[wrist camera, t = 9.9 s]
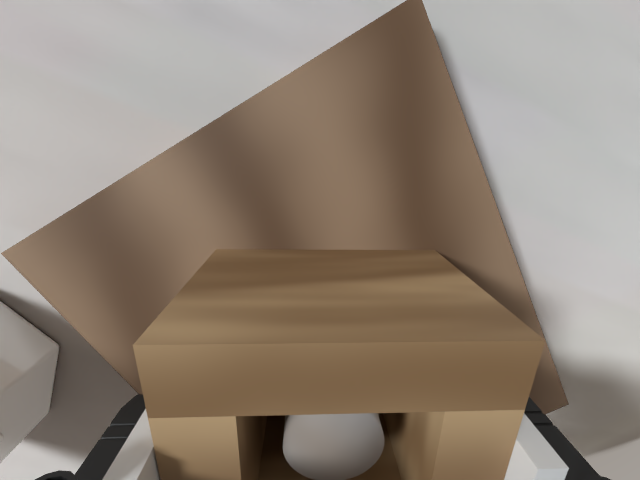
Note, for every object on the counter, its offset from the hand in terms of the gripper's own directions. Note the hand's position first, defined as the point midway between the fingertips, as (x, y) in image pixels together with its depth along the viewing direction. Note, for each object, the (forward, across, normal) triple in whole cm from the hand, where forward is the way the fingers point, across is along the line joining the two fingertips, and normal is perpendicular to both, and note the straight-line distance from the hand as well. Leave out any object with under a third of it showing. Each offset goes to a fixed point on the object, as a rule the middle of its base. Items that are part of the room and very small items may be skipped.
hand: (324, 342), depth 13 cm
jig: (+2, 0, 0) cm, 2 cm away
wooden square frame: (0, 0, -3) cm, 3 cm away
